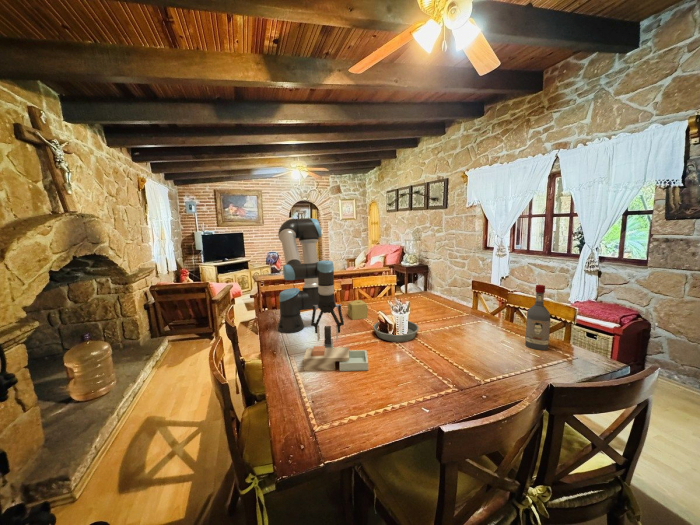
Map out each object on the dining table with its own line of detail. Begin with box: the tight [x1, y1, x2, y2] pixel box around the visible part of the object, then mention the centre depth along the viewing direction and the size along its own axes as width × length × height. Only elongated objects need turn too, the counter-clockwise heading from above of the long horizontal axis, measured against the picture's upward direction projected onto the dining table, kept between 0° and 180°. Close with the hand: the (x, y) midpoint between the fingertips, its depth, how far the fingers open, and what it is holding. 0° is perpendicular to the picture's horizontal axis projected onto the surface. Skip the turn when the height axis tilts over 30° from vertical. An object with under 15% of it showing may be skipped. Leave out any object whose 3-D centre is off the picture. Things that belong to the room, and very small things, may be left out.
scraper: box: [323, 325, 334, 348], centre depth 140 cm, size 4×10×12 cm, turn 1°
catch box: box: [339, 349, 369, 372], centre depth 127 cm, size 12×12×4 cm
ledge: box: [303, 346, 350, 372], centre depth 126 cm, size 19×10×6 cm, turn 91°
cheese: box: [346, 299, 369, 321], centre depth 189 cm, size 10×11×10 cm
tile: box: [312, 345, 325, 356], centre depth 126 cm, size 5×5×2 cm
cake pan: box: [372, 320, 420, 343], centre depth 160 cm, size 25×25×4 cm
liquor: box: [524, 284, 551, 351], centre depth 138 cm, size 9×9×30 cm
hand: (328, 339), depth 140 cm, fingers open, 8 cm apart
